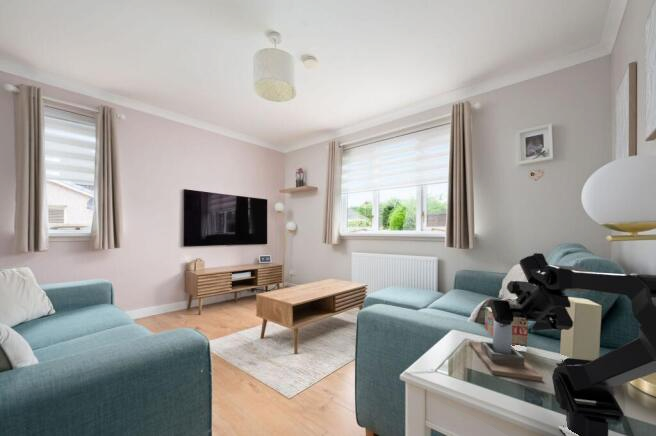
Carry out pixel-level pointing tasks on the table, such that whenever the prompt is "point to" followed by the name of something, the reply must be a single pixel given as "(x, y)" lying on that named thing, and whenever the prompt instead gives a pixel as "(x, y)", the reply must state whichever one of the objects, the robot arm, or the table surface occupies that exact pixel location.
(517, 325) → the stack of blocks
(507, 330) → the peach-capped cylinder
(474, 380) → the table surface
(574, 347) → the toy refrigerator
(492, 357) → the jig board
